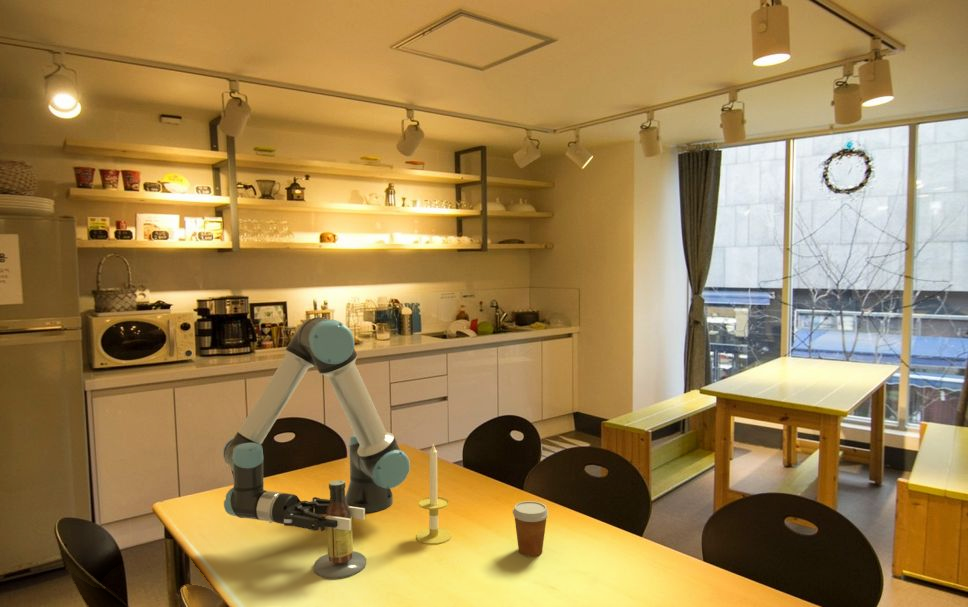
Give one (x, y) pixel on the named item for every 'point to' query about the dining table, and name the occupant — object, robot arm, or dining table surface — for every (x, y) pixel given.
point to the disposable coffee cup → (530, 526)
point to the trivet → (339, 567)
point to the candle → (433, 508)
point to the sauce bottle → (337, 538)
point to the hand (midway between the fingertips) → (357, 519)
